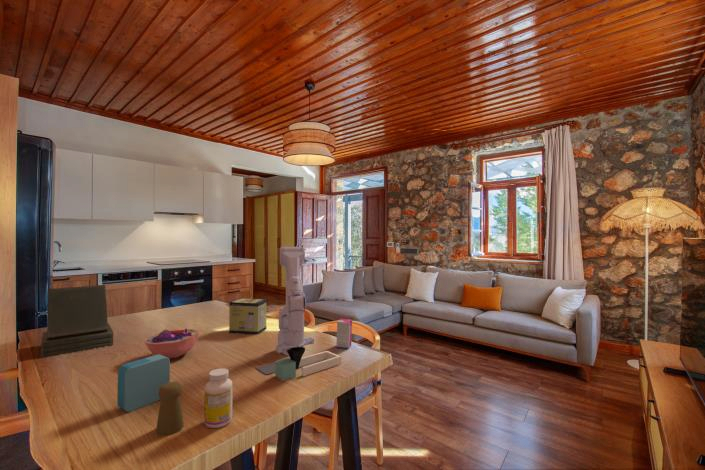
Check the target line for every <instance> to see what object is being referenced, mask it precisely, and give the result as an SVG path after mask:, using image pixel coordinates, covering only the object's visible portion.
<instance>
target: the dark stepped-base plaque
mask: <svg viewBox="0 0 705 470" xmlns="http://www.w3.org/2000/svg"><path fill="white" fill-rule="evenodd" d="M106 290H107V289H106V285H105V284H103V285H102V284H101V285H99V284H98V285H86V286H73V287H59V288H57V287H56V288H49V289H48V297H47V298H48V299H47V323H46V325H47V327H46V328H47V329H46V331H43V332H42V335H41V336H42V337H41V340H40V358H41V359H42V358H47V357H48V358H49V356H50V357H55V356H60V354H61V355H67V354H72V352H73V353H78V351H79V352H84V351H83V350H85V351H88V350H89V349H90V350H95V349H94V348H96V349H100V348H99V347H102V348H106V347H105V346H108V347H113V346H114V330H113V329H112V326H111V324H110V323H109V322H108V309H107V305H108V304H107V291H106ZM112 345H113V346H112ZM90 350H89V351H90ZM66 353H67V354H66Z"/></svg>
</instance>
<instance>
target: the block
mask: <svg viewBox="0 0 705 470" xmlns="http://www.w3.org/2000/svg"><path fill="white" fill-rule="evenodd" d="M274 362H275V373H274V374H275V377H276V378H278V379H279V380H281V381H282V382H283V381H286V380H289V379H292V378H296V376H297V375H296V374H297V372H296V371H297V369H296V362H295V361H293V360H291V359H290V357H287V358H286V357H285V358H282V359H278V360H275V361H274Z"/></svg>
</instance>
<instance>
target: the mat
mask: <svg viewBox="0 0 705 470" xmlns="http://www.w3.org/2000/svg"><path fill="white" fill-rule="evenodd" d="M255 369H256V370H257V371H259V372H260V373H262V374H263V375H265V376H269V375H272V374H275V361H274V362H272V363H267V364H264V365H261V366H256V367H255Z"/></svg>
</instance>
